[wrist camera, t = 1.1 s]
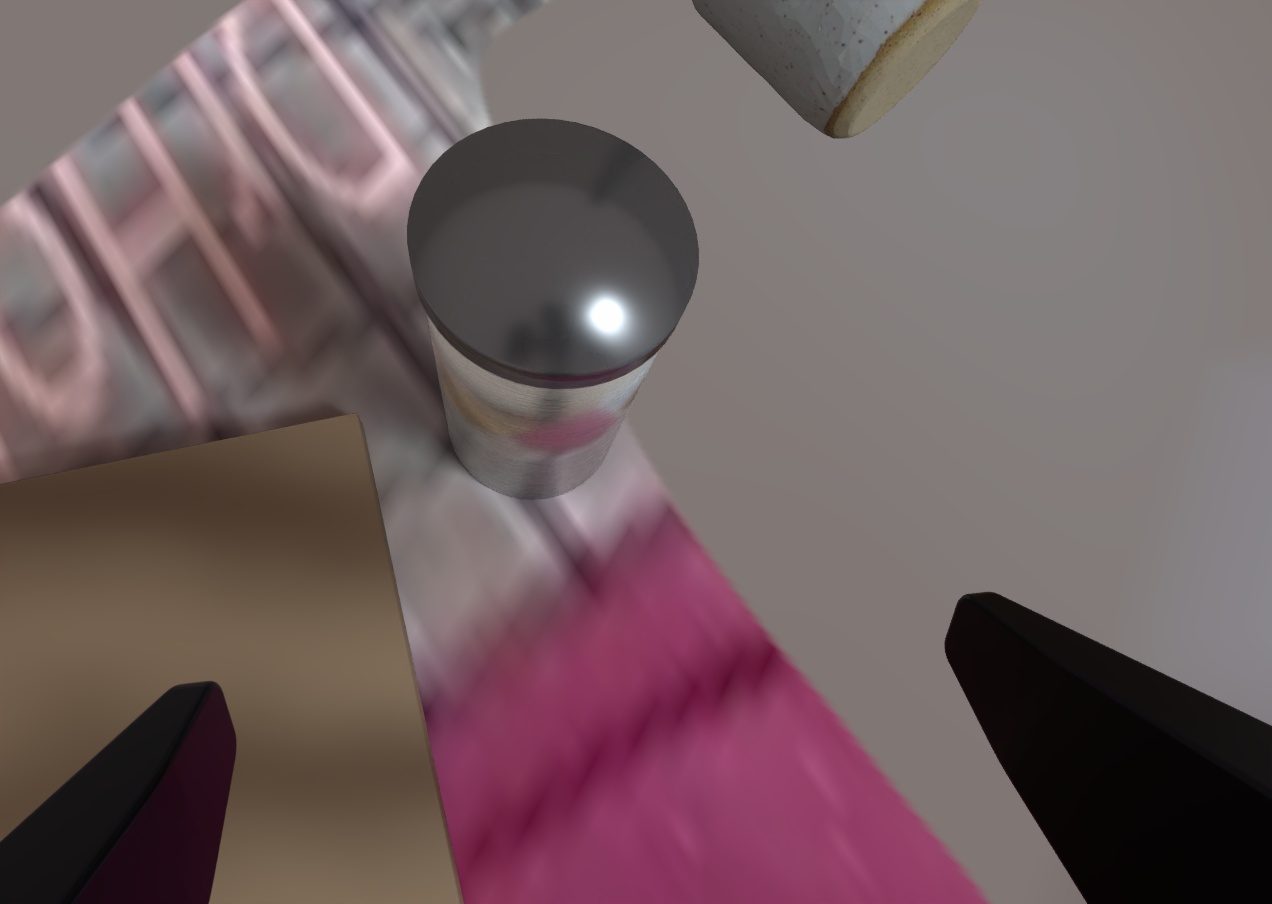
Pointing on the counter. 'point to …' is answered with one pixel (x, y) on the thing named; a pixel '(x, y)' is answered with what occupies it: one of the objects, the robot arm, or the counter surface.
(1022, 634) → the robot arm
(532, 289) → the metal tin
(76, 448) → the counter surface
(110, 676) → the tan wooden panel
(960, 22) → the ceramic mug
